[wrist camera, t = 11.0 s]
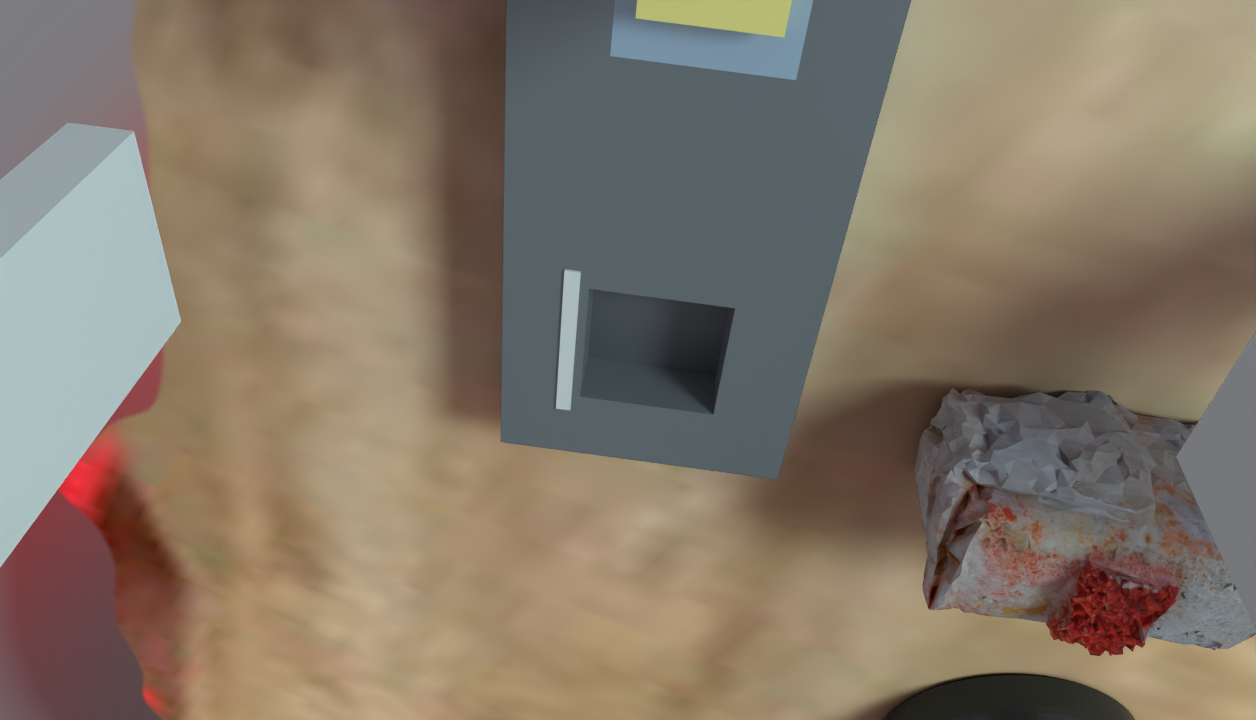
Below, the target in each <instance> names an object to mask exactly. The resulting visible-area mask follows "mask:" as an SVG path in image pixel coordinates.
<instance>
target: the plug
mask: <svg viewBox="0 0 1256 720" xmlns="http://www.w3.org/2000/svg"><path fill="white" fill-rule="evenodd" d="M812 3H813V0H615V6H614V18H613V29H612V41H611V53H610V56H614V57H621V58H629V59H637V60H645V61H652V62H660V63H668V64H675V65H683V66H691V67H698V68H706V69H714V70H722V71H729V72H737V73H745V74H752V75H760V76H768V77H776V78H783V79H791V80H796V78H797V73H798V69H799V64H800V59H801V55H802V50H803V45H804V41H805V36H806V31H807V27H808V22H809V17H810V13H811V8H812Z"/></svg>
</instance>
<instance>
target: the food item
mask: <svg viewBox="0 0 1256 720" xmlns="http://www.w3.org/2000/svg"><path fill="white" fill-rule="evenodd" d="M1195 426H1196V425H1184V424H1182V423H1180V422H1178V421H1176V420H1171V419H1163V418H1155V417H1149V416H1142V415H1136V414H1134V413H1132V412H1130V411H1129V410H1127V409H1126V408H1124V407H1123V406H1122V405H1120V404H1119V403H1118V402H1117V401H1116V400H1115V399H1113V398H1112V397H1111V396H1110V395H1106V394H1104V393H1102V392H1100V391H1089V392H1087V393H1083V392H1066V393H1064V394H1063V395H1061V396H1059V397H1058V398H1055V397H1052V396H1049V395H1046V394H1044V393H1041V392H1038V393H1032V394H1027V395H1022V396H1018V397H1015V398H1003V397H994V396H986V395H984V394H981V393H979V392H977V391H975V390H972V389H970V388H968V389H966V390H964V391H962V392H961V393H958V392H957V391H956V390H955V389H953V388H952V389H951V391H950V393H949V394H948V395H946V396H945V397H943V398H942V405H941V407H940V409H939V411H938V413H937V415H936V416H935V417H934V418H933V419H931V424H930V426H929V427H928V428H927V429H926V430H924V431H923V434H922V436H921V439H920V441H919V447H918V454H917V459H916V463H915V466H914V475H915V481H916V486H917V488H918V494H919V503H920V510H921V515H922V520H923V525H924V530H925V532H926V536H927V541H926V545H927V546H926V548H927V553H928V557H927V561H926V566H925V572H924V581H923V591H924V596H925V599H926V602H927V605H928V609H930V610H943V609H951V608H959V609H961V610H962V611H963V612H973V613H976V614H979V615H987V616H995V617H1004V618H1019V619H1026V620H1033V621H1039V622H1045V623H1047V624H1046V625H1047V626H1048V628H1049V629H1050V634H1051V636H1052V638H1053V639H1054V640H1056V639H1059V640H1061V641H1066V642H1067V643H1069V644H1070V643H1071V644H1073V643H1075V642H1076V643H1080V644H1081V645H1083V646H1084V647H1085V648H1088V650H1089V653H1090V655H1096V656H1100V655H1101V654H1102V653H1103V652H1104V651H1105V650H1106V651H1107V652H1109V654H1110V656H1111V655H1112V654H1115V655H1119V654H1123V647H1124V646H1127V647H1128V648H1129V649H1130V650H1131V651H1133V649H1134V646H1135V645H1138V646H1140V647H1143V646H1144V645H1145V643H1144V642H1145V640H1146V637H1152V638H1156V639H1161V640H1166V641H1171V642H1176V643H1181V644H1195V645H1198V646H1201V647H1205V648H1211V649H1213V650H1215V649H1216V648H1219V649H1228V648H1230V647H1232V646H1234V645H1236V644H1238V643H1240V642H1242V641H1244V640H1246V639H1248V638H1250V637H1253V636H1254V635H1255V634H1256V630H1255V628H1254V626H1253V623H1252V621H1251V619H1250V617H1249V615H1248V613H1247V610H1246V608H1245V606H1244V604H1243V602H1242V599H1241V597H1240V595H1239V593H1238V591H1237V589H1236V586H1235V584H1234V582H1233V580H1232V578H1231V576H1230V573H1229V571H1228V569H1227V567H1226V565H1225V562H1224V560H1223V558H1222V556H1221V554H1220V552H1219V549H1218V547H1217V545H1216V543H1215V541H1214V538H1213V536H1212V534H1211V532H1210V530H1209V528H1208V525H1207V523H1206V521H1205V519H1204V517H1203V514H1202V512H1201V510H1200V508H1199V506H1198V504H1197V501H1196V499H1195V497H1194V495H1193V493H1192V491H1191V488H1190V486H1189V484H1188V482H1187V480H1186V477H1185V475H1184V473H1183V471H1182V469H1181V467H1180V464H1179V462H1178V460H1177V458H1176V456H1177V455H1178V453H1179V451H1180V450H1181V448H1182V447H1183V445H1184V444H1185V442H1186V440H1187V439H1188V437H1189V436H1190V434H1191V433H1192V431H1193V429H1194V428H1195Z"/></svg>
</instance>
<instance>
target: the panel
mask: <svg viewBox="0 0 1256 720" xmlns="http://www.w3.org/2000/svg"><path fill="white" fill-rule="evenodd" d="M910 2H911V0H813V3H812V8H811V13H810V17H809V22H808V27H807V31H806V36H805V41H804V45H803V50H802V55H801V59H800V64H799V69H798V73H797V78H796V80H791V79H783V78H776V77H768V76H760V75H752V74H745V73H737V72H729V71H722V70H714V69H706V68H698V67H691V66H683V65H675V64H668V63H660V62H652V61H645V60H637V59H629V58H621V57H614V56H610V53H611V41H612V29H613V18H614V6H615V0H506V70H505V148H504V227H503V305H502V383H501V442H505V443H512V444H520V445H527V446H535V447H542V448H549V449H557V450H564V451H571V452H579V453H586V454H593V455H601V456H608V457H616V458H623V459H630V460H638V461H645V462H652V463H660V464H667V465H674V466H682V467H689V468H697V469H704V470H711V471H719V472H726V473H733V474H741V475H748V476H756V477H763V478H770V479H778V476H779V472H780V468H781V465H782V461H783V458H784V454H785V451H786V447H787V443H788V440H789V436H790V433H791V429H792V425H793V422H794V418H795V415H796V411H797V408H798V404H799V400H800V397H801V393H802V390H803V386H804V382H805V379H806V375H807V372H808V368H809V365H810V361H811V357H812V354H813V350H814V347H815V343H816V339H817V336H818V332H819V329H820V325H821V322H822V318H823V314H824V311H825V307H826V304H827V300H828V296H829V293H830V289H831V286H832V282H833V278H834V275H835V271H836V268H837V264H838V261H839V257H840V253H841V250H842V246H843V243H844V239H845V235H846V232H847V228H848V225H849V221H850V218H851V214H852V210H853V207H854V203H855V200H856V196H857V192H858V189H859V185H860V182H861V178H862V175H863V171H864V167H865V164H866V160H867V157H868V153H869V149H870V146H871V142H872V139H873V135H874V132H875V128H876V124H877V121H878V117H879V114H880V110H881V106H882V103H883V99H884V96H885V92H886V88H887V85H888V81H889V78H890V74H891V71H892V67H893V63H894V60H895V56H896V53H897V49H898V45H899V42H900V38H901V35H902V31H903V28H904V24H905V20H906V17H907V13H908V10H909V6H910Z"/></svg>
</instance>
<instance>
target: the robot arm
mask: <svg viewBox="0 0 1256 720" xmlns="http://www.w3.org/2000/svg"><path fill="white" fill-rule="evenodd" d="M180 322H181V319H180V315H179V311H178V307H177V303H176V299H175V295H174V291H173V287H172V283H171V279H170V275H169V271H168V267H167V263H166V259H165V255H164V251H163V247H162V243H161V239H160V234H159V230H158V226H157V222H156V218H155V214H154V210H153V206H152V202H151V198H150V194H149V190H148V186H147V182H146V178H145V174H144V170H143V166H142V162H141V158H140V154H139V150H138V146H137V142H136V138H135V134H134V131H127V130H119V129H112V128H105V127H97V126H90V125H82V124H74V123H67V124H66V125H65V126H64V127H62V128H61V129H60V130H59V131H58V132H57V133H55V134H54V135H53V136H52V137H51V138H49V139H48V140H47V141H46V142H45V143H43V144H42V145H41V146H40V147H39V148H38V149H36V150H35V151H34V152H33V153H32V154H30V155H29V156H28V157H27V158H26V159H25V160H23V161H22V162H21V163H20V164H19V165H18V166H16V167H15V168H14V169H13V170H12V171H10V172H9V173H8V174H7V175H6V176H4V177H3V178H2V179H1V180H0V567H1V566H2V564H3V563H4V561H5V560H6V559H7V557H8V556H9V555H10V553H11V552H12V551H13V549H14V548H15V546H16V545H17V544H18V542H19V541H20V540H21V538H22V537H23V536H24V534H25V533H26V532H27V530H28V529H29V528H30V526H31V525H32V524H33V522H34V521H35V519H36V518H37V517H38V515H39V514H40V513H41V511H42V510H43V509H44V507H45V506H46V504H47V503H48V502H49V500H50V499H51V498H52V496H53V495H54V493H55V492H56V491H57V490H58V488H59V487H60V485H61V484H62V483H63V481H64V480H65V479H66V477H67V476H68V475H69V473H70V472H71V470H72V469H73V468H74V466H75V465H76V464H77V462H78V461H79V460H80V458H81V457H82V456H83V454H84V453H85V451H86V450H87V449H88V447H89V446H90V445H91V443H92V442H93V441H94V439H95V438H96V437H97V435H98V434H99V432H100V431H101V430H102V428H103V427H104V426H105V424H106V423H107V421H108V420H109V419H110V417H111V416H112V415H113V413H114V412H115V411H116V409H117V408H118V407H119V405H120V404H121V403H122V401H123V400H124V398H125V397H126V396H127V394H128V393H129V392H130V390H131V389H132V388H133V386H134V385H135V383H136V382H137V381H138V379H139V378H140V377H141V375H142V374H143V373H144V371H145V370H146V369H147V367H148V366H149V364H150V363H151V362H152V360H153V359H154V358H155V356H156V355H157V354H158V352H159V351H160V350H161V348H162V347H163V345H164V344H165V343H166V341H167V340H168V339H169V337H170V336H171V335H172V333H173V332H174V330H175V329H176V328H177V326H178V325H179V324H180ZM1176 458H1177V460H1178V462H1179V464H1180V467H1181V469H1182V471H1183V473H1184V475H1185V477H1186V480H1187V482H1188V484H1189V486H1190V488H1191V491H1192V493H1193V495H1194V497H1195V499H1196V501H1197V504H1198V506H1199V508H1200V510H1201V512H1202V514H1203V517H1204V519H1205V521H1206V523H1207V525H1208V528H1209V530H1210V532H1211V534H1212V536H1213V538H1214V541H1215V543H1216V545H1217V547H1218V549H1219V552H1220V554H1221V556H1222V558H1223V560H1224V562H1225V565H1226V567H1227V569H1228V571H1229V573H1230V576H1231V578H1232V580H1233V582H1234V584H1235V586H1236V589H1237V591H1238V593H1239V595H1240V597H1241V599H1242V602H1243V604H1244V606H1245V608H1246V610H1247V613H1248V615H1249V617H1250V619H1251V621H1252V623H1253V626H1254V628H1255V630H1256V332H1255V334H1254V335H1253V337H1252V338H1251V340H1250V342H1249V343H1248V345H1247V346H1246V348H1245V349H1244V351H1243V353H1242V354H1241V356H1240V357H1239V359H1238V360H1237V362H1236V364H1235V365H1234V367H1233V368H1232V370H1231V371H1230V373H1229V374H1228V376H1227V378H1226V379H1225V381H1224V382H1223V384H1222V385H1221V387H1220V389H1219V390H1218V392H1217V393H1216V395H1215V396H1214V398H1213V400H1212V401H1211V403H1210V404H1209V406H1208V407H1207V409H1206V411H1205V412H1204V414H1203V415H1202V417H1201V418H1200V420H1199V422H1198V423H1197V425H1196V426H1195V428H1194V429H1193V431H1192V433H1191V434H1190V436H1189V437H1188V439H1187V440H1186V442H1185V444H1184V445H1183V447H1182V448H1181V450H1180V451H1179V453H1178V455H1177V456H1176ZM884 720H1135V719H1134V718H1133V716H1132V715H1131V713H1130V712H1129V711H1128V710H1127V709H1126V708H1125V707H1124V706H1123V705H1121V704H1120V703H1119V702H1118V701H1116V700H1115V699H1113V698H1111V697H1110V696H1108V695H1106V694H1104V693H1102V692H1100V691H1098V690H1095V689H1093V688H1090V687H1088V686H1084V685H1081V684H1078V683H1074V682H1070V681H1066V680H1061V679H1055V678H1049V677H1041V676H1028V675H1002V676H988V677H980V678H973V679H967V680H962V681H957V682H953V683H949V684H945V685H942V686H939V687H936V688H933V689H930V690H928V691H925V692H923V693H921V694H918V695H916V696H914V697H912V698H911V699H909V700H907V701H905V702H904V703H902V704H901V705H899V706H898V707H897V708H895V709H894V710H893V711H892V712H891V713H890V714H888V715H887V717H886V718H885V719H884Z"/></svg>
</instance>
